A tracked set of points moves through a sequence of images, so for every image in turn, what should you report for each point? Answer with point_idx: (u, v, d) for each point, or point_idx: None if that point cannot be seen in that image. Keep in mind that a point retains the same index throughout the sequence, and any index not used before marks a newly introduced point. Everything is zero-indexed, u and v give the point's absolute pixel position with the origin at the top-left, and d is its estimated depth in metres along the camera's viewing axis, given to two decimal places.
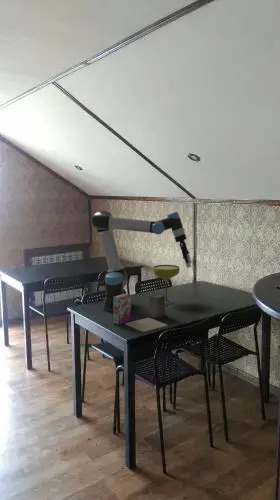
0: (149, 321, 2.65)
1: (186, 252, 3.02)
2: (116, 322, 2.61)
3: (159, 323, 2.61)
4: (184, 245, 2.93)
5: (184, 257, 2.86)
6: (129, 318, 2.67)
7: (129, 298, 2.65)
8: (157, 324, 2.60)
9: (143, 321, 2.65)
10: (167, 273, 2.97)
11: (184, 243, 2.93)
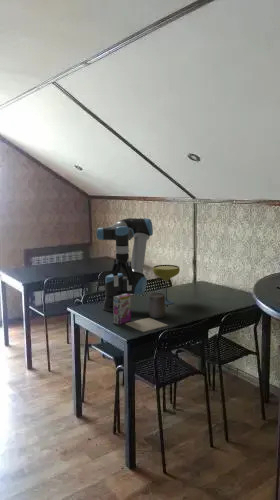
0: (149, 321, 2.65)
1: (128, 276, 2.57)
2: (116, 322, 2.61)
3: (159, 323, 2.61)
4: None
5: None
6: (129, 318, 2.67)
7: (129, 298, 2.65)
8: (157, 324, 2.60)
9: (143, 321, 2.65)
10: (167, 273, 2.97)
11: (118, 263, 2.61)
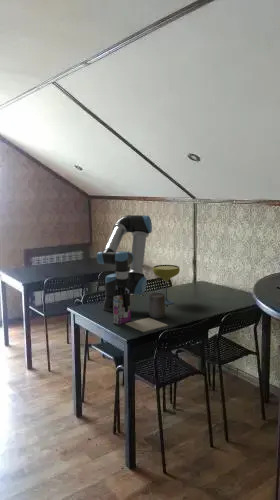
0: (149, 321, 2.65)
1: None
2: (116, 322, 2.61)
3: (159, 323, 2.61)
4: None
5: None
6: (129, 318, 2.67)
7: None
8: (157, 324, 2.60)
9: (143, 321, 2.65)
10: (167, 273, 2.97)
11: (118, 288, 2.64)
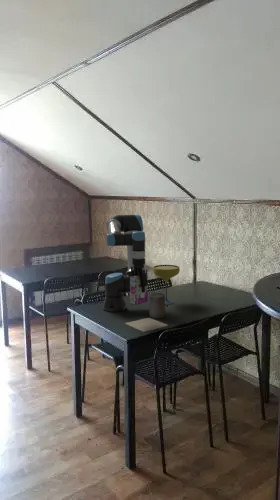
0: (149, 321, 2.65)
1: None
2: (133, 302, 2.59)
3: (159, 323, 2.61)
4: None
5: None
6: (146, 299, 2.65)
7: None
8: (157, 324, 2.60)
9: (143, 321, 2.65)
10: (167, 273, 2.97)
11: (134, 268, 2.62)
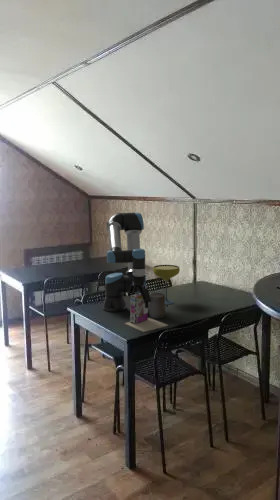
0: (149, 321, 2.65)
1: None
2: (133, 321, 2.61)
3: (159, 323, 2.61)
4: None
5: None
6: (146, 317, 2.67)
7: None
8: (157, 324, 2.60)
9: (143, 321, 2.65)
10: (167, 273, 2.97)
11: (135, 285, 2.63)
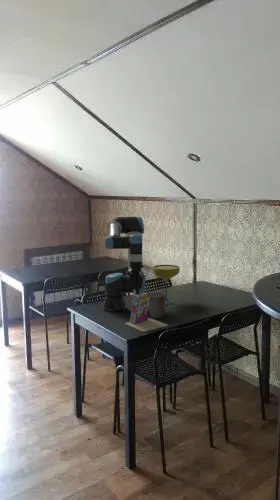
0: (149, 321, 2.65)
1: None
2: (133, 320, 2.61)
3: (159, 323, 2.61)
4: None
5: None
6: (146, 317, 2.67)
7: (148, 298, 2.64)
8: (157, 324, 2.60)
9: (143, 321, 2.65)
10: (167, 273, 2.97)
11: (132, 271, 2.64)
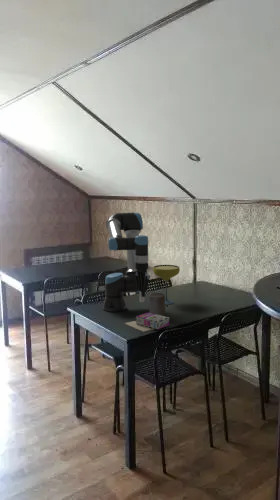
0: None
1: None
2: (137, 321, 2.59)
3: None
4: None
5: None
6: None
7: None
8: None
9: None
10: (167, 273, 2.97)
11: None
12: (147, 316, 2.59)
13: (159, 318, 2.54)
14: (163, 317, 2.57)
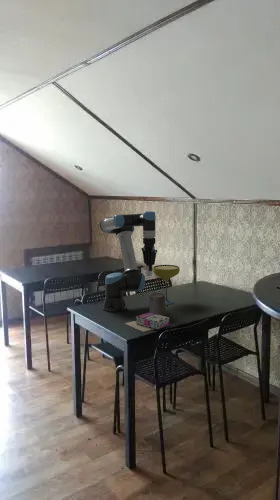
0: None
1: None
2: (137, 321, 2.59)
3: None
4: None
5: None
6: None
7: None
8: None
9: None
10: (167, 273, 2.97)
11: (145, 247, 2.68)
12: (147, 316, 2.59)
13: (159, 318, 2.54)
14: (163, 317, 2.57)
